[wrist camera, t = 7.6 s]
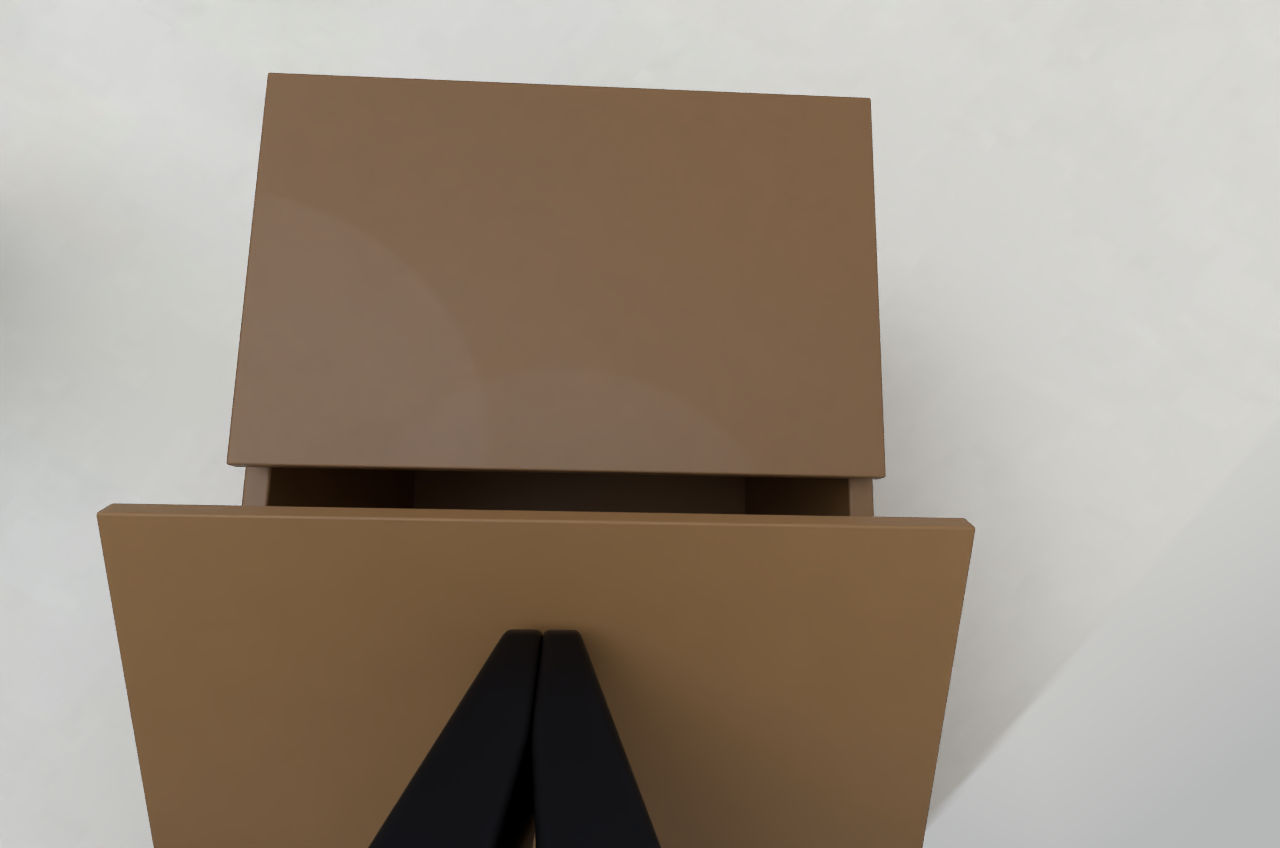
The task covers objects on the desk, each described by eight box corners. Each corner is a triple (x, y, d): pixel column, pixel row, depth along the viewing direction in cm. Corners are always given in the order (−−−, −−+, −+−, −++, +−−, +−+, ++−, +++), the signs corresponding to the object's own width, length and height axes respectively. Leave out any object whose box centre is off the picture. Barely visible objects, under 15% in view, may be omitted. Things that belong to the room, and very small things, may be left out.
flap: (898, 933, 11) (906, 953, 10) (184, 939, 10) (171, 960, 10) (965, 517, 9) (977, 527, 9) (111, 502, 9) (94, 512, 8)
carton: (759, 757, 20) (908, 953, 10) (385, 756, 20) (169, 959, 10) (754, 296, 22) (874, 93, 13) (417, 287, 22) (264, 67, 12)
